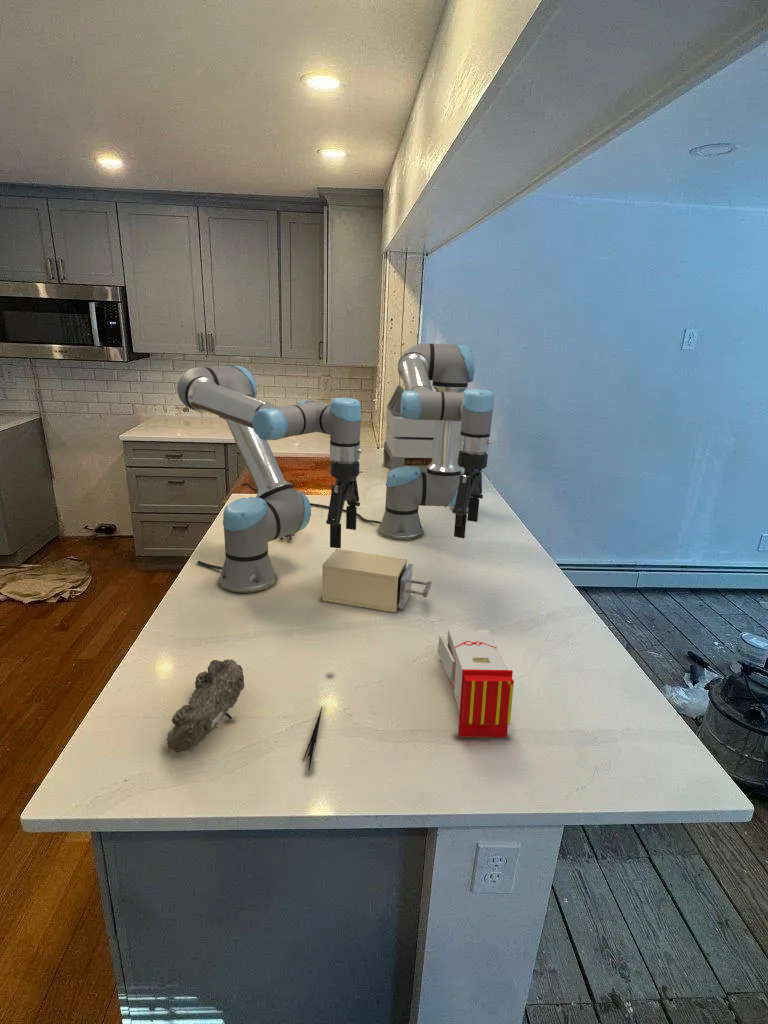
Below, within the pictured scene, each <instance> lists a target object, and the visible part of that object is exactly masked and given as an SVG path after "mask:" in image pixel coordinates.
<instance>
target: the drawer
mask: <svg viewBox="0 0 768 1024" xmlns="http://www.w3.org/2000/svg"><path fill="white" fill-rule="evenodd" d="M413 569H414V564H413V563H408V564H407V565H406V570H405V572H404V574H403V576H402V572H401V574H400V576H399V578H398V593H397V597H398V595H399V593H400V601H399V606H398V609H401V610H404V609H405V607H406V605H407V603H408V600H409V597H410V596H411V595H412V594H413V595H420V596H422V597H423V598H427V597H428V596H429V593H430V591H431V588H432V585H433V583H432V581H430V580H429V581H426V582H425V581H419V580H413ZM401 577H402V578H401ZM412 584H414V585H420V586H421V585H422V586H424V588H423V591H418V590H412Z"/></svg>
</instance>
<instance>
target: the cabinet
mask: <svg viewBox="0 0 768 1024" xmlns="http://www.w3.org/2000/svg"><path fill="white" fill-rule="evenodd" d="M407 561H408V559H407V558H402V557H395V556H389V555H381V554H374V553H367V552H362V551H361V552H360V551H356V550H355V551H354V550H353V551H352V550H346V549H341V548H335V549H334V551H333V552H332V553H331V555H330V556H329V557H328V558H327V559H326V561H325V562H324V563H323V564H322V577H321V578H322V579H321V580H322V581H321V582H322V583H321V584H322V585H321V590H322V592H321V594H322V595H321V599H322V600H321V601H325V602H330V603H336V604H341V605H348V606H354V607H360V608H366V609H372V610H379V611H385V612H390V613H397V610H398V609H399V601H400V593H399V595H398V597H397V593H398V578H399V576H400V574H401V572H402V576H403V574H404V572H405V570H406V568H407ZM401 578H402V577H401Z"/></svg>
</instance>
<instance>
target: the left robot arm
mask: <svg viewBox="0 0 768 1024" xmlns="http://www.w3.org/2000/svg"><path fill="white" fill-rule="evenodd" d="M257 386H258V385H257V383H256V380H255V378H254V376H253V374H252V373H251V372H250V371H249V370H248V369H247V368H246V367H244V366H241V365H232V364H226V365H220V366H203V367H202V366H198V367H193V368H189V369H188V370H186V371H185V372H184V373H182V375H181V376H180V378H178V383H177V388H176V390H177V391H176V392H177V395H178V398H179V400H180V401H181V403H182V404H183V405H184V406H185V407H187V408H188V409H191V410H193V411H195V412H197V413H207V412H208V413H211V414H213V415H216V416H218V417H219V418H221V419H223V420H225V422H226V423H227V426H228V429H229V430H230V432H231V435H232V437H233V439H234V441H235V444H236V446H237V448H238V451H239V453H240V455H241V457H242V459H243V462H244V464H245V466H246V469H247V471H248V473H249V475H250V478H251V480H252V483H253V485H254V488H255V489H256V490H257V491H258V492H257V494H256V496H249V497H242V498H238V499H235V500H233V501H231V502H229V503H228V504H227V505H226V506H225V507H224V510H223V519H222V526H223V534H224V535H223V536H224V553H225V554H224V555H225V557H224V558H225V559H224V561H223V563H222V566H219V565H216V564H215V565H214V564H210V563H207V562H203V561H201V560H197V564H199V565H201V566H204V567H207V568H211V569H216V570H220V571H221V572H220V575H219V583H220V586H221V587H222V588H223V589H224V590H226V591H228V592H232V593H238V594H249V593H257V592H260V591H264V590H266V589H268V588H270V587H272V586H273V585H274V584H275V582H276V571H275V568H274V566H273V563H272V561H271V558H270V556H269V543H270V542H272V541H275V540H278V539H280V538H281V537H283V538H285V537H284V536H286V535H289V534H295V535H296V533H298V532H300V531H302V530H304V529H305V528H307V527H308V525H309V523H310V522H311V521H310V520H311V516H312V505H310V503H311V502H310V500H309V498H308V496H307V495H306V494H305V493H303V492H302V491H299V490H295V487H294V485H293V483H291V482H289V481H287V480H286V479H285V477H284V475H283V473H282V471H281V468H280V466H279V464H278V462H277V460H276V457H275V456H274V453H273V450H272V448H271V445H270V444H269V441H278V440H281V439H286V438H291V437H295V436H302V435H308V434H312V433H320V434H325V435H329V459H330V461H329V475H330V476H331V477H332V478H335V479H336V482H335V483H334V484H331V486H330V487H331V488H330V498H329V499H330V501H329V504H328V506H329V508H328V511H327V519H326V521H325V522H326V523H325V524H327V525H329V548H334V549H341V547H342V523H341V519H342V515H343V512H344V511H343V509H344V507H345V502H346V504H347V506H346V508H345V510H346V512H345V515H346V516H345V530H352V531H356V530H357V515H356V513H358V512H357V511H358V509H357V508H358V507H360V505H361V502H360V493H359V487H358V481H357V478H358V477H359V476H360V461H359V460H360V454H361V453H362V452H363V450H362V448H360V447H361V426H362V425H361V422H362V412H361V411H362V410H361V402H360V400H358V399H356V398H352V397H336V398H332V399H331V400H330V403H326V402H325V403H324V402H320V401H316V400H313V399H312V400H305V399H304V400H300V401H299V402H298V403H297V404H290V405H277V404H274V403H271V402H268V401H265V400H262V399H259V398H257V394H258V391H257V388H258V387H257Z"/></svg>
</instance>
